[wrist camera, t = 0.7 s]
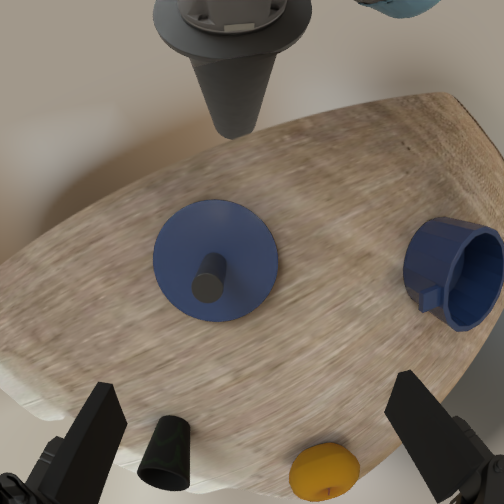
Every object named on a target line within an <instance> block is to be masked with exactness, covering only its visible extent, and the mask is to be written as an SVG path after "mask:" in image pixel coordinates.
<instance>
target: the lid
mask: <svg viewBox="0 0 504 504" xmlns="http://www.w3.org/2000/svg"><path fill="white" fill-rule="evenodd" d="M153 266H154V272H155V276H156V279H157V282H158V284H159V287H160V288H161V290H162V292H163V293H164V295H165V296H166V297H167V299H168V300H169V301H170V302H171V303H172V304H173V305H174V306H175V307H177V308H178V309H179V310H181V311H182V312H184V313H185V314H187V315H189V316H191V317H194V318H197V319H200V320H205V321H212V322H223V321H230V320H234V319H237V318H240V317H242V316H244V315H246V314H248V313H250V312H252V311H253V310H254V309H255V308H257V307H258V306H259V305H260V304H261V303H262V302H263V301H264V300H265V298H266V297H267V296H268V294H269V293H270V291H271V289H272V287H273V285H274V283H275V280H276V276H277V271H278V254H277V248H276V245H275V241H274V239H273V237H272V235H271V233H270V231H269V230H268V228H267V226H266V225H265V224H264V223H263V221H262V220H261V219H260V218H259V217H258V216H257V215H255V214H254V213H253V212H251V211H250V210H249V209H247V208H245V207H243V206H241V205H239V204H236V203H233V202H229V201H225V200H205V201H199V202H196V203H193V204H190V205H188V206H186V207H184V208H182V209H181V210H179V211H178V212H176V213H175V214H174V215H173V216H172V217H171V218H170V219H169V220H168V221H167V222H166V223H165V224H164V226H163V228H162V229H161V231H160V233H159V235H158V237H157V239H156V243H155V246H154V253H153Z"/></svg>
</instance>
